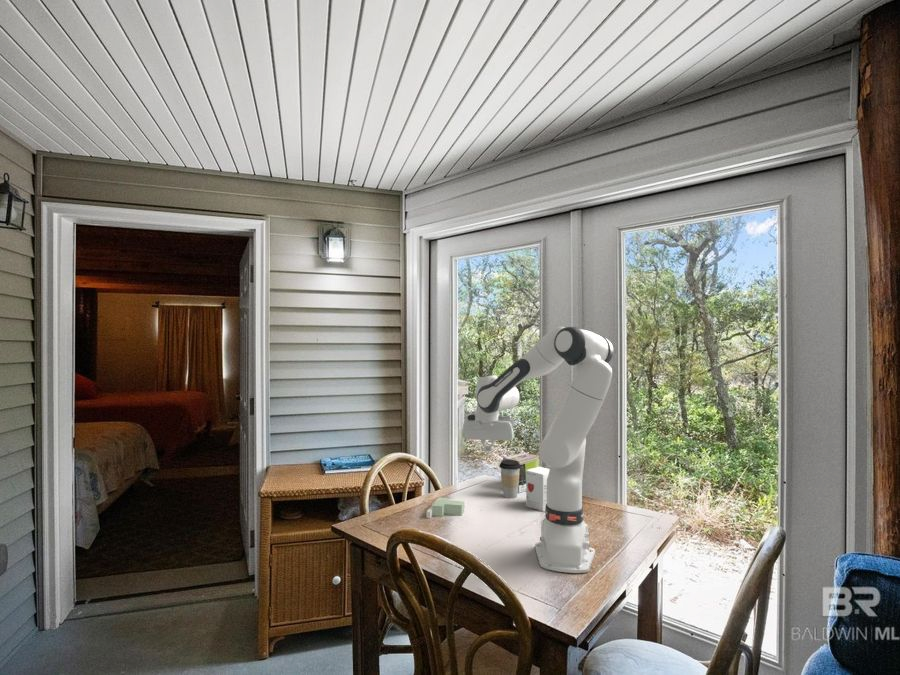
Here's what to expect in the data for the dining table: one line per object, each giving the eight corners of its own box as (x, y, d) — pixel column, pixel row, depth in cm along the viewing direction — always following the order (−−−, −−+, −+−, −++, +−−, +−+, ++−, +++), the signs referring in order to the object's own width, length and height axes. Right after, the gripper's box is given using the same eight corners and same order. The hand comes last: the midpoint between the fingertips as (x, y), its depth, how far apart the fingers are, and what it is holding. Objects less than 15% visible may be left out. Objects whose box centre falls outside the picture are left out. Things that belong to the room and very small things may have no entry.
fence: (455, 520, 175) (455, 514, 176) (426, 518, 178) (426, 511, 178) (464, 506, 191) (464, 500, 191) (438, 504, 194) (438, 498, 194)
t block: (459, 518, 178) (459, 507, 178) (432, 515, 181) (432, 505, 181) (465, 509, 188) (465, 499, 188) (439, 507, 190) (439, 497, 190)
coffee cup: (518, 500, 198) (518, 465, 199) (497, 498, 201) (497, 463, 202) (522, 494, 207) (522, 460, 207) (501, 492, 210) (501, 458, 210)
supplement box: (525, 506, 191) (525, 469, 192) (538, 501, 197) (538, 466, 198) (543, 512, 185) (543, 474, 185) (556, 506, 191) (556, 470, 191)
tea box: (524, 482, 225) (523, 451, 225) (540, 487, 217) (540, 455, 218) (502, 488, 215) (502, 456, 216) (519, 493, 208) (518, 460, 208)
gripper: (514, 415, 184) (515, 450, 183) (464, 414, 189) (464, 448, 188) (513, 417, 178) (513, 454, 177) (461, 416, 182) (461, 451, 182)
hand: (487, 451), depth 183 cm, fingers closed
